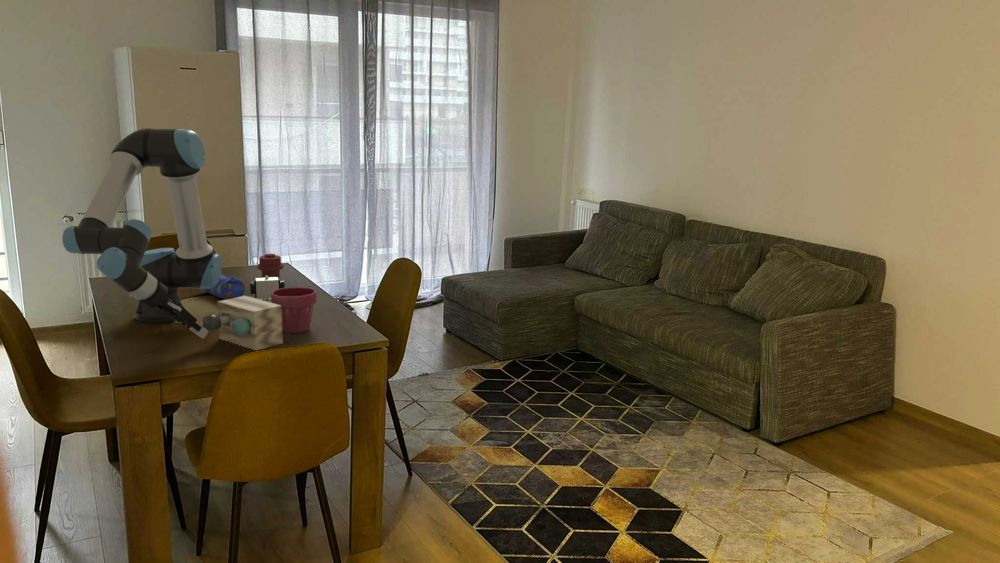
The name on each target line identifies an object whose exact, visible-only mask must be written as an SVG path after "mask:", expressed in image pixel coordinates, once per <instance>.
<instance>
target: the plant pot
mask: <svg viewBox="0 0 1000 563" xmlns="http://www.w3.org/2000/svg"><path fill="white" fill-rule="evenodd" d="M271 303H274V304H278V305H281V308H282V333H287V334H298V333H299V334H300V333H304V332H308V331H309V330H310V327H311V322H312V317H313V311H314V306H315V304H316V303H317V290H316V289H314V288H311V287H301V286H295V287H294V286H293V287H291V286H290V287H289V286H288V287H285V288H281V289H277V290H274V291H272V293H271Z"/></svg>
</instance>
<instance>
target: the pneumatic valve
mask: <svg viewBox="0 0 1000 563" xmlns="http://www.w3.org/2000/svg"><path fill="white" fill-rule="evenodd" d="M281 288H286V287H285V280H281V277H280V278H279V277H268V276H265V278H262V277H254V278H253V280H252V281H250V282H249V294H250V295H253V296H254V298H255V299H261V300H263V301H267V302H270V303H271V293H272V291H274V290H277V289H281Z"/></svg>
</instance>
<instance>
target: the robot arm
mask: <svg viewBox="0 0 1000 563" xmlns="http://www.w3.org/2000/svg"><path fill="white" fill-rule="evenodd" d="M205 155H206V153H205V147H204V144H203V141H202V138H201V137H200V136H199V134H197V132H196V131H193V130H191V129H182V128H145V127H144V128H141V129H137V130H135V131H133V132H130V134H128V135H126V136H125V137H124V138H122V139H121V140H120V141H119V142H118V143H117V144H116V145H115V147H114V148H113V149H112V151H111V152H110V154H109V157H108V163H109V165H108V167H107V169H106V171H105V173H104V175H103V177H102V179H101V180H100V183H99V185H98V187H97V188H96V191H95V193H94V194H93V196H92V197H91V198H92V199H91V201H90V202H89V204H88V206H87V208H86V210H85V212H84V214H83V216H82V218H81V220H80V222H79V224H78V225H73V226H70V225H69V226H68V227H67V228H65V229H64V230H63V232H62V238H61V240H62V241H61V242H62V245H63V247H64V248H65V250H66V252H68V253H71V254H79V255H80V254H81V255H99V257H97V260H96V268H97V270H98V271H99V272H100V273H101V274H102V275H104V276H105V277H106V278H107V279H109V280H110V281H112V282H113V283H115V285H117V286H118V287H120V288H122V289H123V290H124V291H125V292H126V293H128V295H129V297H130V298H135V299H136V300H137V305H136V309H135V314H134V315H135V320H136V321H137V322H140V323H150V324H157V323H167V322H174V321H175V322H176V323H178V324H181V325H183V326H185V328H186V329H187V330H189V331H191V332H193V334H195V335H196V336H198V337H199V338H200V339H205V338H206V337H207V335H208V333H209V331H208V330H207V329H205V328H204V326H203V324H202V325H201V323H199V322H198V318H196V317H195V316H194V315H192V314H191V312H189V311H188V310H187V309H186V308H185V307H184V306H183V304H182V301H181V300H180V297H179V295H178V289H199V290H204V289H208V288H214V287H215V286H216V285H217V283H218V281H219V279H220V276H221V274H222V270H223V269H222V268H223V259H222V257H221V254H218V253H215V252H214V248H213V246H212V245H211V244H209V243H208V240H207V236H206V235H207V234H206V229H205V228H206V227H205V223H204V217H203V216H204V215H203V211H202V206H201V197H200V193H199V192H200V191H199V186H198V180H197V176H198V174H199V173H200V172H201V168H202V167H203V166H204V164H205V160H206V157H205ZM147 167H151V168H152V167H153V168H154V167H156V168H159V172H160V176H162V177H163V178H164V179H165V180H166V181H167V186H168V192H169V197H170V203H171V208H172V214H173V218H174V219H173V220H174V224H175V230H176V235H177V236H176V237H177V241H178V245H179V247H178V248H177V249H176V250H175V248H174V247H160V248H154V249H149V250H147V248H148V246H149V245H150V240H151V237H152V234H153V233H152V232H153V230H152V228H151V227H150V225H149V224H147V223H146V222H145V221H143V220H141V219H128V220H126V222H124V224H123V226H122V227H112V226H113V223H114V221H115V219H116V217H117V215H118V212H119V211H120V209H121V206H122V205H123V203H124V201H125V199H126V197H127V194H128V192H129V190H130V188H131V186H132V184H133V182H134V180H135V179H136V178H135V177H136V176H138V175H140V174H141V173H142V171H143V169H145V168H147ZM173 320H174V321H173Z"/></svg>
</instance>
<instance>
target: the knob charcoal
mask: <svg viewBox="0 0 1000 563" xmlns="http://www.w3.org/2000/svg"><path fill="white" fill-rule="evenodd" d="M229 322H230V315H228V316H223V317H219V316H218V313H214V314H209V315H205V316H203V318H202V326H203V327H204V328H205V329H207V330H208V331H209V332H213V331H217V330H218V331H219V329H220V327H221V324H225V323H229ZM209 332H208V333H209Z"/></svg>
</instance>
